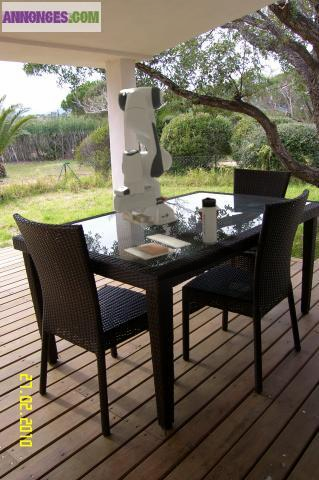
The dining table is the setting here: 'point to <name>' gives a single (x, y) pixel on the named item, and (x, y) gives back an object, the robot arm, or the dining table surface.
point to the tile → (154, 249)
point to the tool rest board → (168, 240)
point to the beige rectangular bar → (139, 219)
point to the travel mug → (209, 221)
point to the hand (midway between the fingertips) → (137, 219)
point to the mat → (143, 254)
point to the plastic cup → (201, 212)
